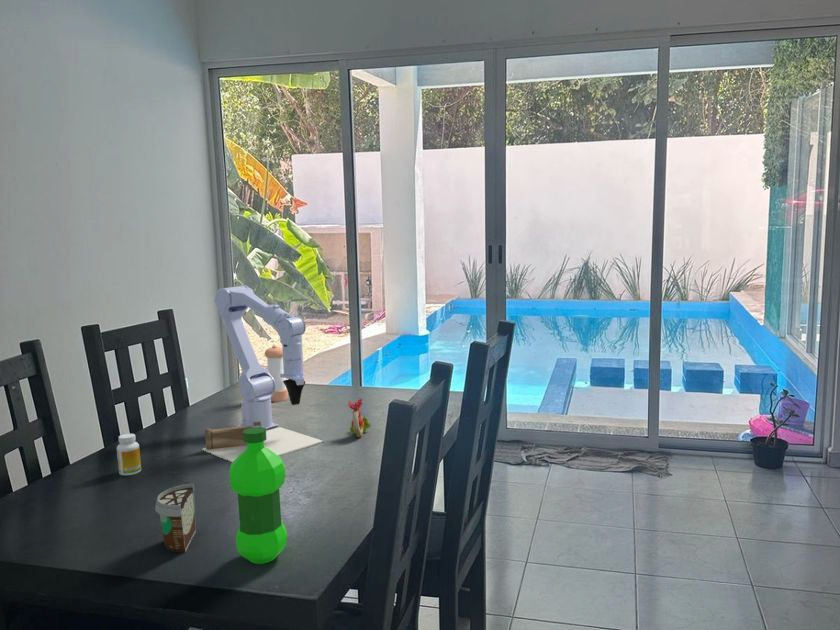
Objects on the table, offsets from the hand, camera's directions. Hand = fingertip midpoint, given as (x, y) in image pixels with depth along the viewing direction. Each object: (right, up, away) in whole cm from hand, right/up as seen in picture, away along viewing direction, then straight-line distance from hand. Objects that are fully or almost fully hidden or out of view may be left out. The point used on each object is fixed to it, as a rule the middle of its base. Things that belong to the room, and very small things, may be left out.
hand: (295, 404), depth 213 cm
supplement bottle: (-38, -15, -26) cm, 48 cm away
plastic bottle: (+6, -20, -74) cm, 77 cm away
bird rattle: (+19, -9, 0) cm, 21 cm away
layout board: (-8, -11, -8) cm, 15 cm away
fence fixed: (-16, -11, -8) cm, 21 cm away
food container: (-13, -20, -67) cm, 71 cm away
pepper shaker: (-14, -4, +43) cm, 46 cm away
